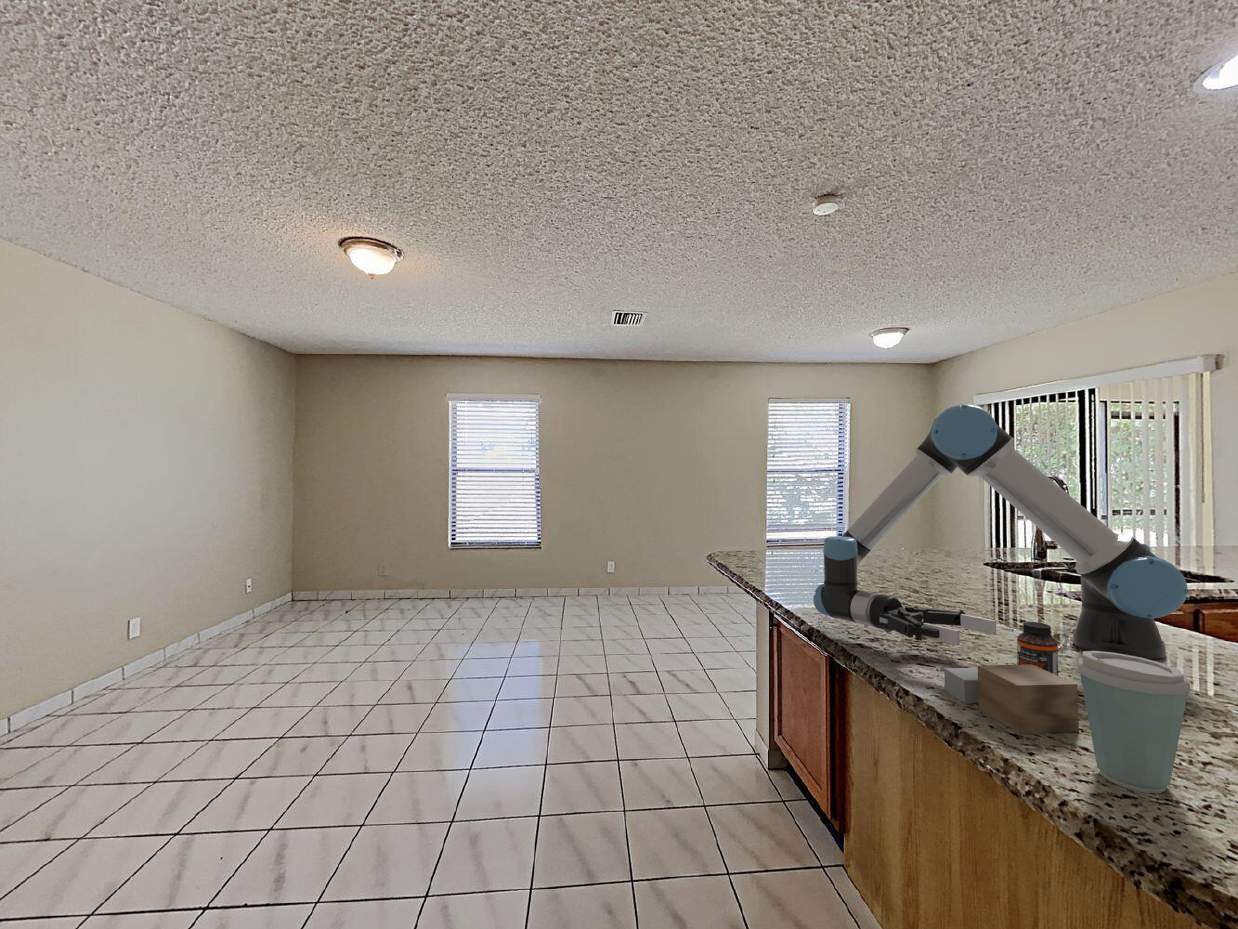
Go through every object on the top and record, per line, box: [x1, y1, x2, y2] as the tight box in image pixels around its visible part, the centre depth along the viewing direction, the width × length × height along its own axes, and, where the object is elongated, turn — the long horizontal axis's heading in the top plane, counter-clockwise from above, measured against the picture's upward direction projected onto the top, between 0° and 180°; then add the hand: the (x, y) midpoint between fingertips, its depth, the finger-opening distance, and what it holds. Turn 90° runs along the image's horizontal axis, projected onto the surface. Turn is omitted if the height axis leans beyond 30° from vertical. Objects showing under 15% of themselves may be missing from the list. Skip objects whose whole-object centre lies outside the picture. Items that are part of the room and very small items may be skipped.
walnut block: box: [977, 664, 1080, 735], centre depth 88 cm, size 9×9×7 cm
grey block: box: [943, 667, 979, 704], centre depth 98 cm, size 6×6×4 cm
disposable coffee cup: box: [1076, 650, 1192, 794], centre depth 70 cm, size 11×11×15 cm
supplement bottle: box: [1016, 621, 1059, 676], centre depth 102 cm, size 6×6×11 cm
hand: (977, 632), depth 110 cm, fingers open, 13 cm apart
